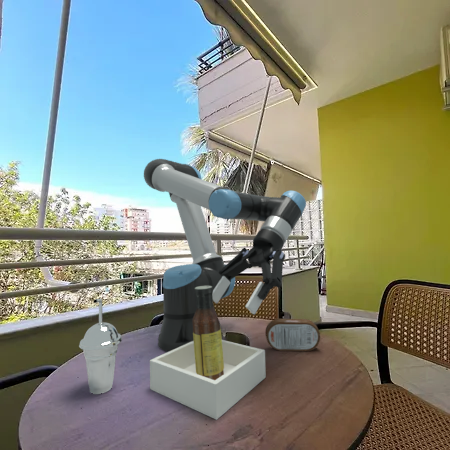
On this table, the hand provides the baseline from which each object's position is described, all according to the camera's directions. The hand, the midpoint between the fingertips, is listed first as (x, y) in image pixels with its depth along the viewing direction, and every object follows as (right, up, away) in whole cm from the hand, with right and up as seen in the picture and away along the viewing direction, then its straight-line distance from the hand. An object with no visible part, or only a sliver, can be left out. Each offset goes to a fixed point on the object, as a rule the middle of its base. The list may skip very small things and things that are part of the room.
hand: (229, 305), depth 64 cm
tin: (+18, -17, +14) cm, 28 cm away
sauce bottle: (-5, -15, -3) cm, 16 cm away
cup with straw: (-28, -17, -5) cm, 33 cm away
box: (-4, -16, -3) cm, 17 cm away
